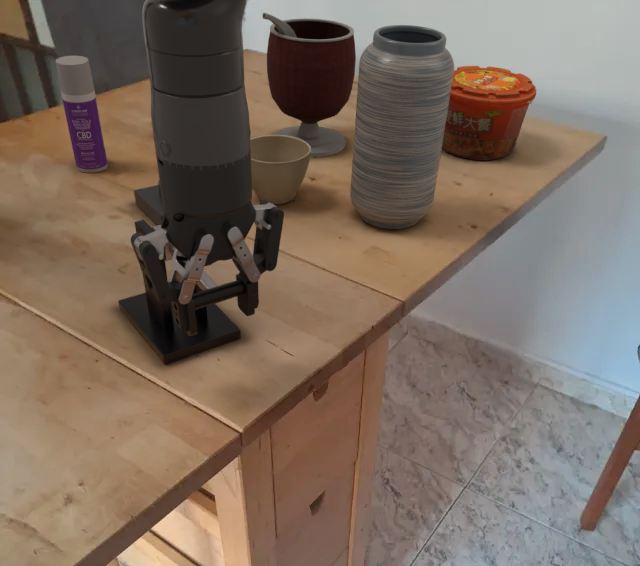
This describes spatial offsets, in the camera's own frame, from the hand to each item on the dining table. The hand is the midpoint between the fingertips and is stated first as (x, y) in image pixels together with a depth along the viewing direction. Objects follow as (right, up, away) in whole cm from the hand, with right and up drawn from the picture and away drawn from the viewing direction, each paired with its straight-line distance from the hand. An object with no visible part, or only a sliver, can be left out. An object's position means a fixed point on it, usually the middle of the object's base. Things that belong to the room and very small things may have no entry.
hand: (218, 320), depth 66 cm
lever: (-3, +5, +2) cm, 6 cm away
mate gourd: (+7, +37, +50) cm, 63 cm away
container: (-25, +30, +40) cm, 56 cm away
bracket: (-6, +1, +10) cm, 12 cm away
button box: (-9, +20, +31) cm, 38 cm away
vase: (+20, +20, +32) cm, 42 cm away
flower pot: (+3, +23, +34) cm, 42 cm away
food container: (+36, +38, +52) cm, 74 cm away
